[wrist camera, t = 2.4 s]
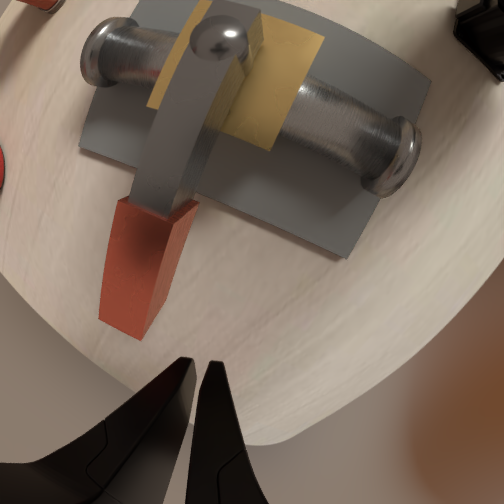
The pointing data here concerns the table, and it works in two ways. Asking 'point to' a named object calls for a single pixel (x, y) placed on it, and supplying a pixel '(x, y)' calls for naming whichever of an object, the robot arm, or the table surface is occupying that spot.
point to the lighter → (46, 4)
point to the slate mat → (283, 150)
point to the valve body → (266, 96)
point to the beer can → (1, 167)
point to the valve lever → (175, 166)
